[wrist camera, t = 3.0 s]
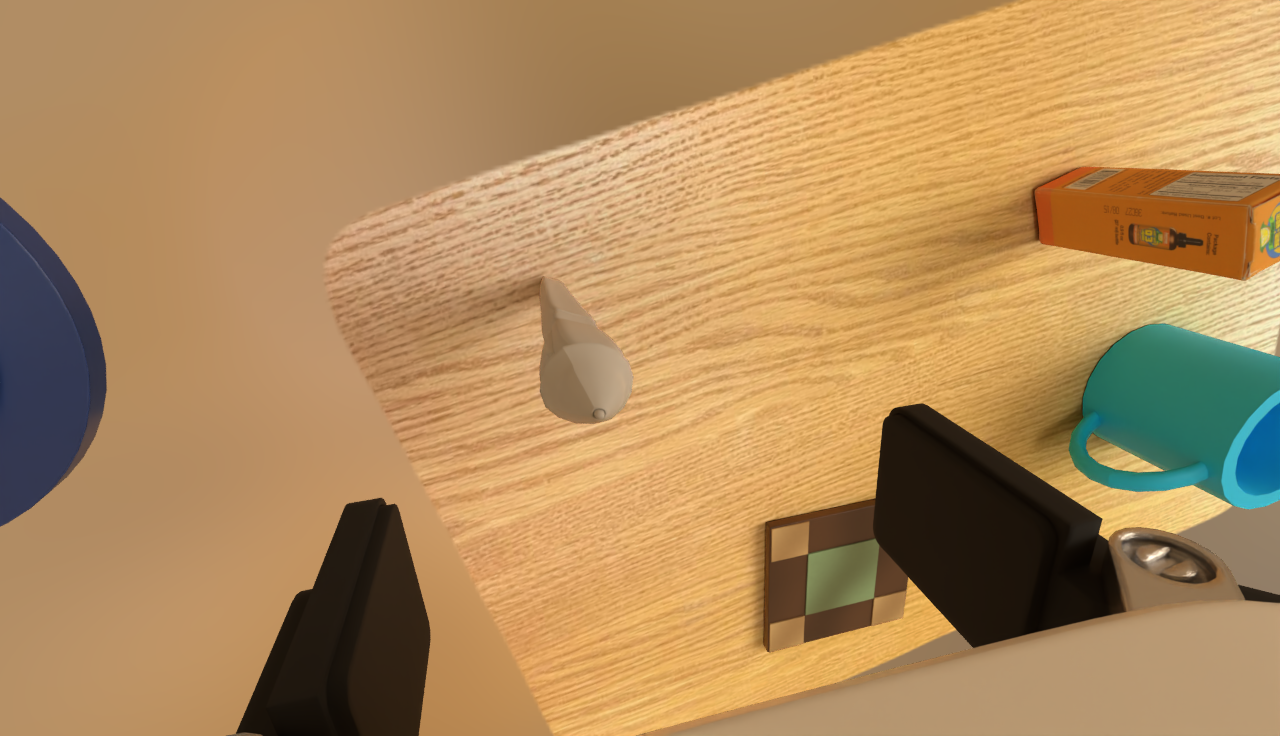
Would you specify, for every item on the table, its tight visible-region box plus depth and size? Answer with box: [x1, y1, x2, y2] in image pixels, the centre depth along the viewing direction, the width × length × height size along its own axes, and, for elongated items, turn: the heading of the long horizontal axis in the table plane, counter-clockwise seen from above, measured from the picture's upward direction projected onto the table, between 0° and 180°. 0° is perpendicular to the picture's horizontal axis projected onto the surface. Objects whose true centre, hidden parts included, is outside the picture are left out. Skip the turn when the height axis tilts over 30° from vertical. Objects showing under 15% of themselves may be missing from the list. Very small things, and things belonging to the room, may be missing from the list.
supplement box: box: [1034, 167, 1280, 281], centre depth 28 cm, size 3×3×10 cm
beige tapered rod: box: [539, 276, 633, 424], centre depth 22 cm, size 2×3×14 cm
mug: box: [1069, 324, 1280, 509], centre depth 35 cm, size 12×8×8 cm
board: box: [764, 499, 908, 652], centre depth 39 cm, size 10×10×1 cm
